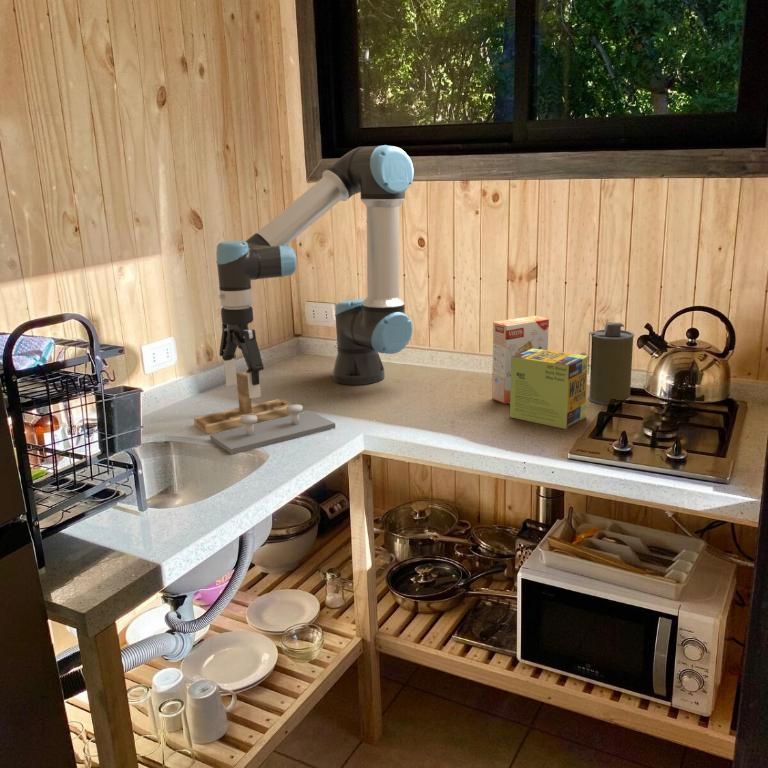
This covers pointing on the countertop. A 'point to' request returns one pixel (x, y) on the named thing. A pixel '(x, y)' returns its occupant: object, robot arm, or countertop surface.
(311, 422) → the board
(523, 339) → the cracker box
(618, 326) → the canister
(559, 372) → the protein box
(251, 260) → the robot arm
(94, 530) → the countertop surface
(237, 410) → the ball track frame
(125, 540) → the countertop surface
